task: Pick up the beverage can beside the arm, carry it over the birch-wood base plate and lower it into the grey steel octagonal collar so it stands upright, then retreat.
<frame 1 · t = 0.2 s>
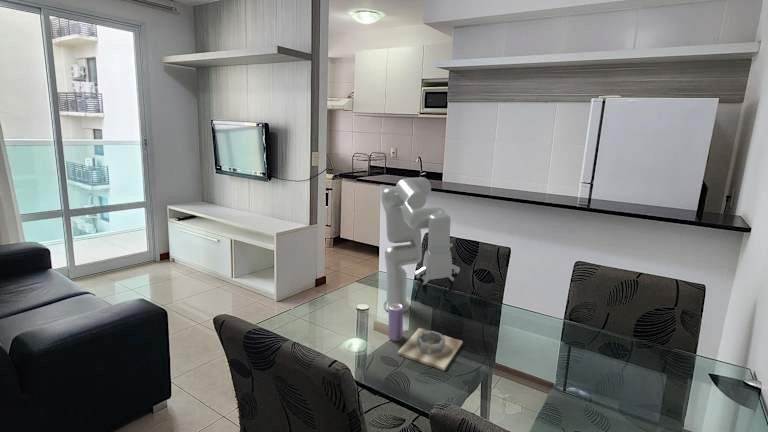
hand: (436, 291, 152), 31 cm above the table, tool pointing down, fingers open, 9 cm apart
rosette socket: (430, 348, 170), on the table
beverage can: (395, 338, 177), on the table
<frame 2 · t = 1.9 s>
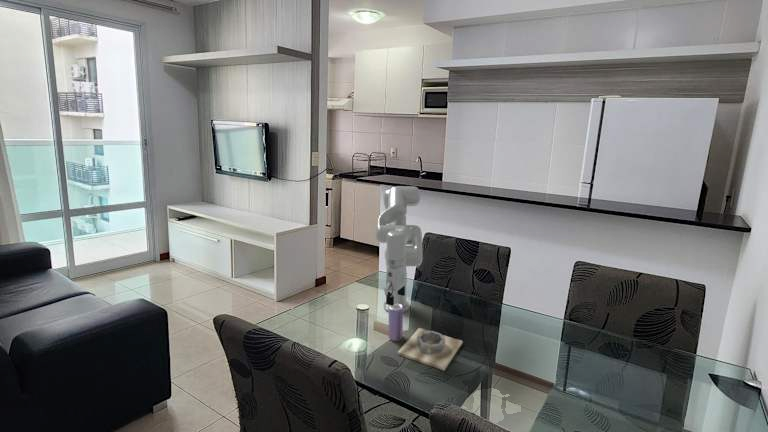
hand: (395, 299, 171), 18 cm above the table, tool pointing down, fingers open, 9 cm apart
nothing on the table moved.
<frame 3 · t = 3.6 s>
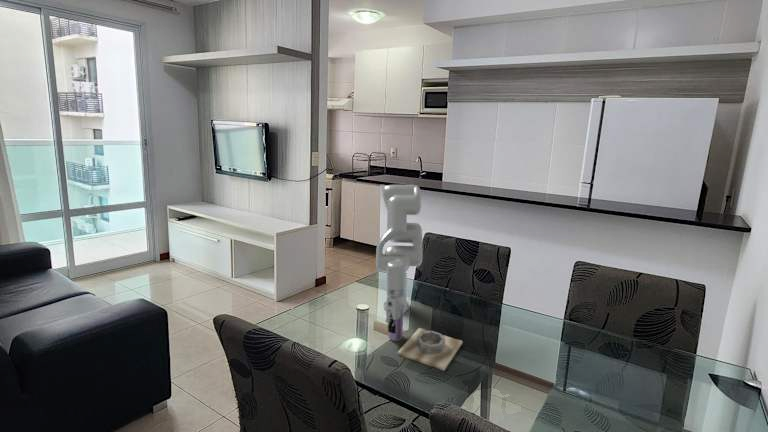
hand: (395, 328, 176), 5 cm above the table, tool pointing down, fingers closed on beverage can, 5 cm apart
beverage can: (395, 338, 177), on the table, touching gripper
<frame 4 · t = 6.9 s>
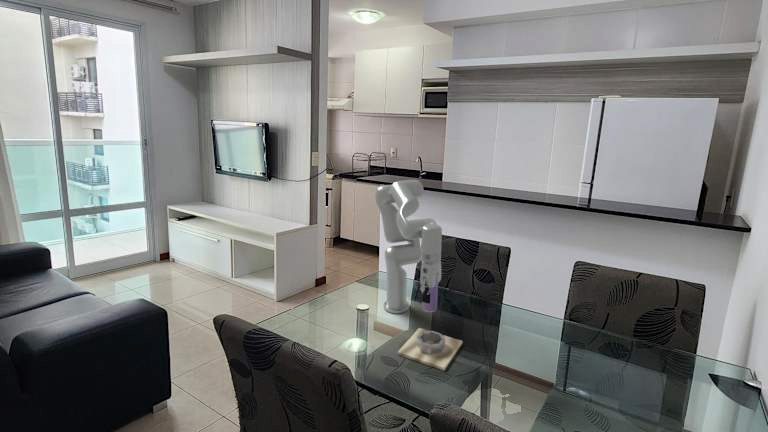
hand: (429, 298, 163), 23 cm above the table, tool pointing down, fingers closed on beverage can, 5 cm apart
beverage can: (429, 309, 165), point 18 cm above the table, touching gripper
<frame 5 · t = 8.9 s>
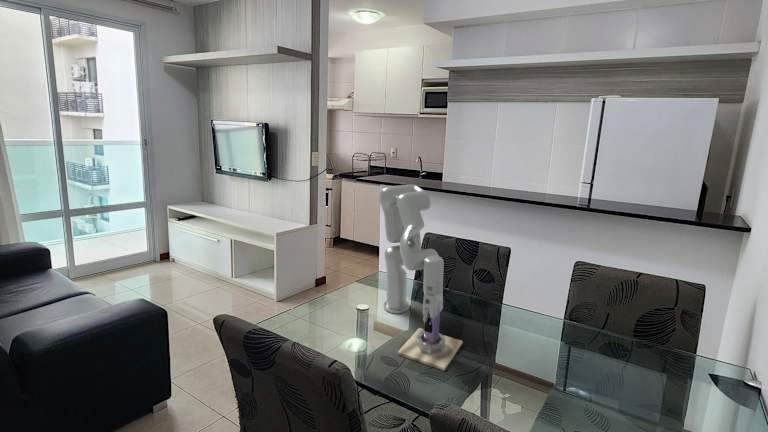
hand: (431, 327, 166), 10 cm above the table, tool pointing down, fingers closed on beverage can, 5 cm apart
beverage can: (431, 337, 168), point 5 cm above the table, touching gripper
when the fingers open (7 cm above the table, at t = 10.3 s): beverage can drops 2 cm, resting on rosette socket.
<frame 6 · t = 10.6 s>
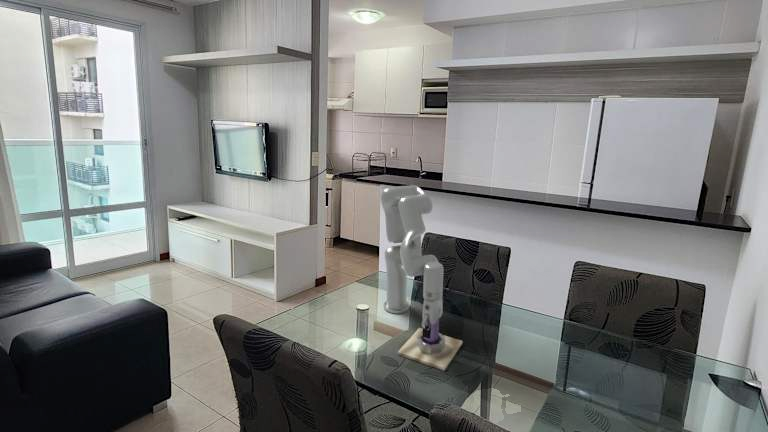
hand: (431, 331, 167), 8 cm above the table, tool pointing down, fingers open, 9 cm apart
beverage can: (430, 346, 169), point 1 cm above the table, touching rosette socket
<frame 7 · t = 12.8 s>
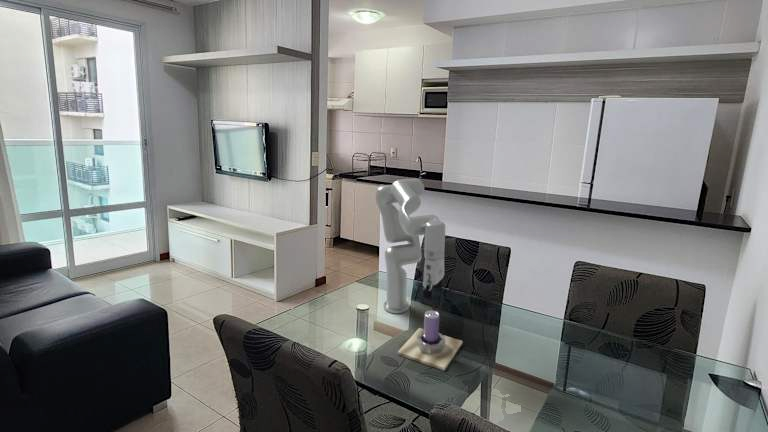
hand: (432, 293, 162), 25 cm above the table, tool pointing down, fingers open, 9 cm apart
nothing on the table moved.
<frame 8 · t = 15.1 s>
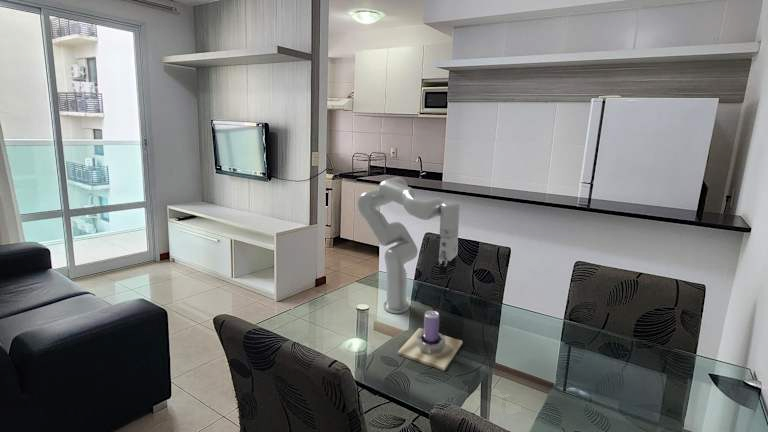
hand: (447, 269, 175), 28 cm above the table, tool pointing down, fingers open, 9 cm apart
nothing on the table moved.
at the end: beverage can 0.1 cm off-centre on the rosette socket, point 1.0 cm above the rosette socket's base; beverage can tilted 0°; the gripper is holding nothing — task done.
